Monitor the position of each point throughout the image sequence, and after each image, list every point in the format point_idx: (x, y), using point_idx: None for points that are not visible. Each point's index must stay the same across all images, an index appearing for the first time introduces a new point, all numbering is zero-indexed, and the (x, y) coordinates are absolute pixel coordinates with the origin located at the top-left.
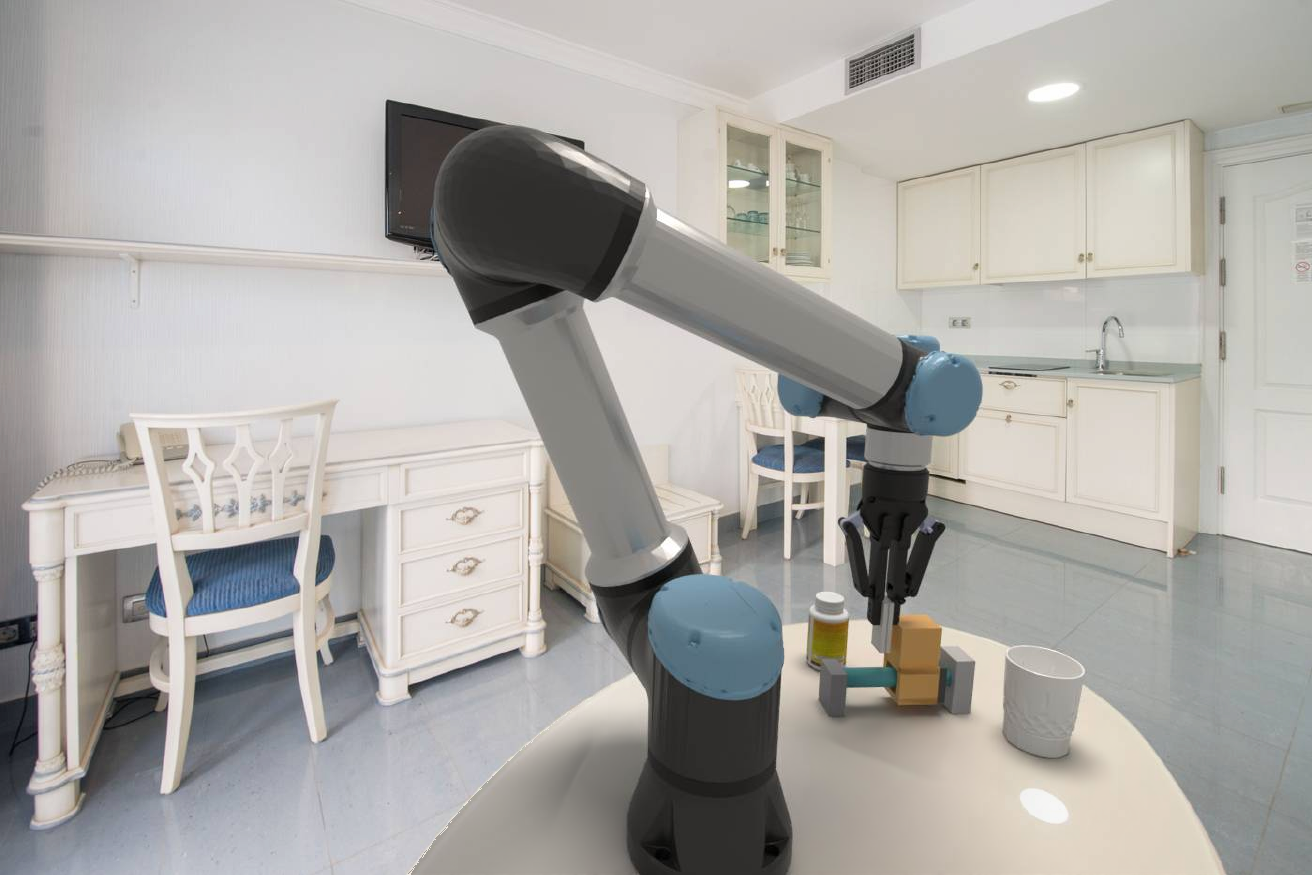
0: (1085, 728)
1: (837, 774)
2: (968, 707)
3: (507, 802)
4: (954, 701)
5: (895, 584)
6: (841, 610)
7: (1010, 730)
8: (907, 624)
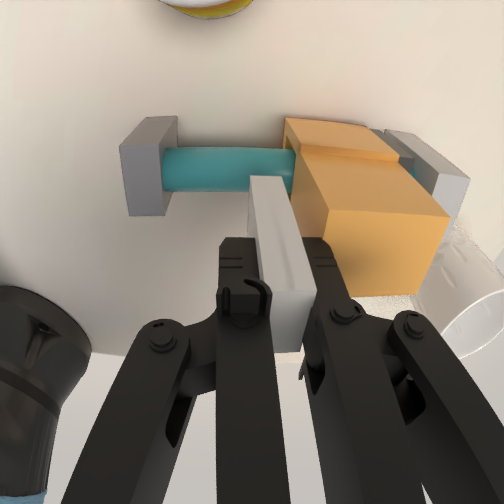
0: (489, 229)
1: (136, 285)
2: None
3: None
4: None
5: (312, 419)
6: None
7: None
8: (343, 277)
